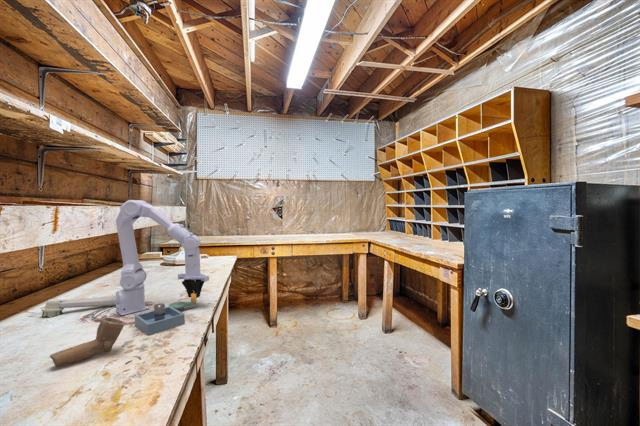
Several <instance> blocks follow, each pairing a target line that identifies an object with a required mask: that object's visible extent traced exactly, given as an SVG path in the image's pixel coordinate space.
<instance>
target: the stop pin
mask: <svg viewBox="0 0 640 426" xmlns="http://www.w3.org/2000/svg"><path fill="white" fill-rule="evenodd" d="M153 307H154V309H153V311H154V319H155V322H156V321H159V320H163V319H165V307H166V306H165V303H156V304H154V305H153Z"/></svg>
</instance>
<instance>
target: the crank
mask: <svg viewBox="0 0 640 426" xmlns="http://www.w3.org/2000/svg"><path fill="white" fill-rule="evenodd" d="M197 302H198V301H197V298H196V293H191V297H190V301H186V302H185V301H176V302H175V301H174V302H171V303H169V305H168V307H169V306H171V307H173V308H174V309H176V310H179V309H182V308H184V309H185V308H188V307H194V306H197Z"/></svg>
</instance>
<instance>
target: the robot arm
mask: <svg viewBox="0 0 640 426" xmlns="http://www.w3.org/2000/svg"><path fill="white" fill-rule="evenodd" d="M141 217H142V218H149V219H151V220H152V221H154V222H155V223H157V224H158V225H160V226H161V227H163V228H164V229H165V230H166V231H167V235H168V236H170V237H171V238H172V239H174V240H175V241H176V242H177V243H179V244H180V245H181V246H182V248H183V249H184V266H185V267H184V268H185V273H179V274H177V280H183V281H181V284H182V285H183V287H184V289H185V290H186V294H187V297H188V298H191V293H196V299H197V298H200V296H201V293H202V289H203V286H204V284H205V283H206V282H208V281H210V275H205V274H202V273H201V253H200V247H199V246H200V245H201V238H199V236H198V235H196V234H194V233H193V232H192V231H191V232H190V231H189V230H188V229H186V228H185V227H184V224H183V223H176V222H175V223H173V222H172V221H171V220H169V219H168V218H167V217H166V216H165V215H164V214H162V213H161V212H160V211H159V210H158V209H156V208H155V207H154V205H152V204H150V203H148V202H147V201H145V200H144V199H143V200H142V199H138V200H137V199H128V200H126V201H125V202H123V203H122V205H120V206H119V212H118V215H117V217H116V219H115V225H116V231H117V235H118V242H119V248H120V253H121V260H122V269H121V271H120V274H121V276H120V278H119V279H120V280H119V285H120V286H121V288H122V289H120V290H117V291H116V293H115V296H116V306H115V311H116V313H118V314H119V315H120V316H126V315H130V314H134V313H138V312H141V311H146V310H149V306H147V305H146V304H145V303H146V299H145V298H146V297H145V284H144V282H145V281H146V279H147V276H148V275H147V272H146V271H145V270H144V268H143V264H142V263H141V262H140V260H139V259H140V258H139V254H138V248H137V241H136V237H135V232H134V231H135V230H134V226H133V225H134V223H135V222H136V221H137V220H138V219H139V218H141Z"/></svg>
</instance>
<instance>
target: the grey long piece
mask: <svg viewBox="0 0 640 426" xmlns="http://www.w3.org/2000/svg"><path fill="white" fill-rule="evenodd" d="M112 306H113V307H116V295H113V294H112V295H108V296H98V297H96V296H95V297H86V298H84V297H83V298H73V299H71V298H70V299H58V298H52V299H48V300H47V301H46V302H45V306H44V307H42V308H41V312H42V315H41V316H42V317H43V318H45V317H47V318H53V317H56V316H57V317H58V316H61V315H62V314H63V310H64V309H68V308H69V309H70V308H71V309H73V308H93V307H112Z"/></svg>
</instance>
